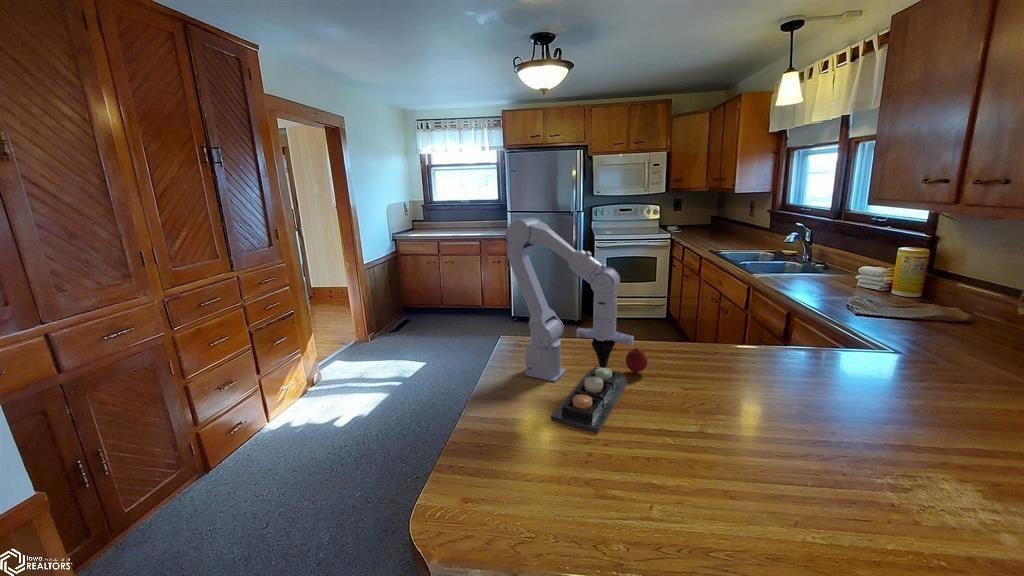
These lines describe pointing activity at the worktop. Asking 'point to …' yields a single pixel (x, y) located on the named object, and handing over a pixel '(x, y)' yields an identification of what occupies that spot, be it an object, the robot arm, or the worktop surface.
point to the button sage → (603, 373)
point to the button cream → (594, 385)
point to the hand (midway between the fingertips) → (603, 366)
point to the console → (600, 403)
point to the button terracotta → (582, 402)
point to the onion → (636, 360)
